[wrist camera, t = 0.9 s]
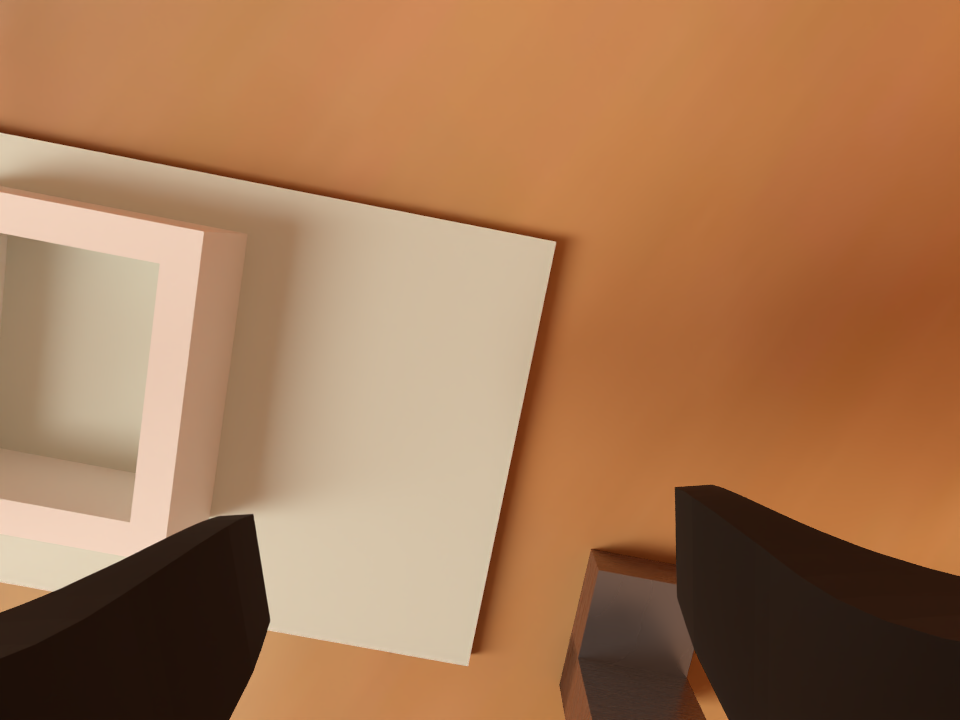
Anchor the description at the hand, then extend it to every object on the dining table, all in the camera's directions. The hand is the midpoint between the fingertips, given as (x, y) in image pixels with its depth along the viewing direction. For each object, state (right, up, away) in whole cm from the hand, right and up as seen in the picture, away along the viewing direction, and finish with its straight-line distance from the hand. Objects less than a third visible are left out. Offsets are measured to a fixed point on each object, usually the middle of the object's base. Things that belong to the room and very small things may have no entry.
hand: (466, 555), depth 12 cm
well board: (-8, +2, +10) cm, 13 cm away
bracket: (+5, -6, +11) cm, 14 cm away
